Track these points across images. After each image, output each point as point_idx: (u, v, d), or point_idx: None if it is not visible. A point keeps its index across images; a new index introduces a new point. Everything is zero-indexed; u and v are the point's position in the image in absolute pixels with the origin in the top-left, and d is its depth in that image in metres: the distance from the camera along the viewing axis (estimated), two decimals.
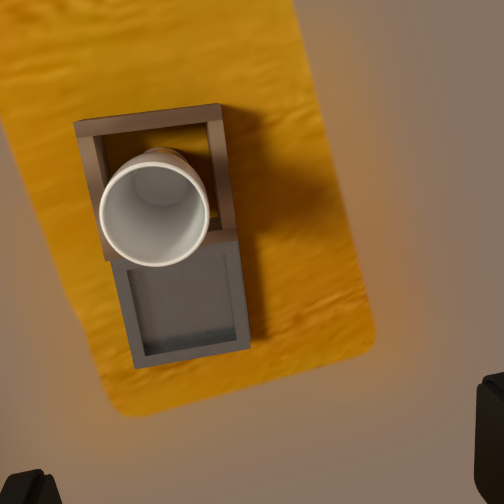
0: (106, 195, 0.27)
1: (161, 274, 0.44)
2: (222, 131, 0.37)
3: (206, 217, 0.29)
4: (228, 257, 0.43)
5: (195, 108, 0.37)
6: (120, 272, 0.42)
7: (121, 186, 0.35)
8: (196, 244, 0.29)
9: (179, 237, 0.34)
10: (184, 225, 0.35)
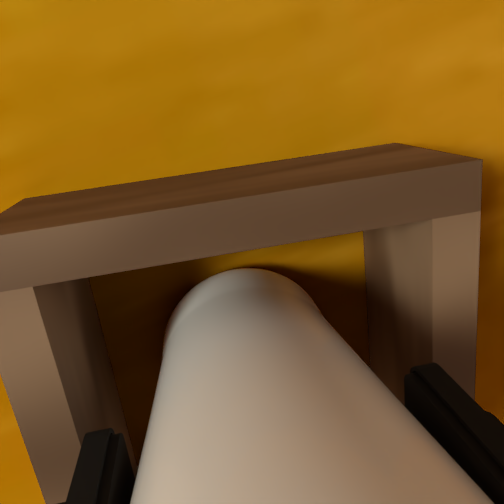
0: None
1: None
2: (473, 247, 0.11)
3: None
4: None
5: (397, 177, 0.10)
6: None
7: None
8: None
9: None
10: None
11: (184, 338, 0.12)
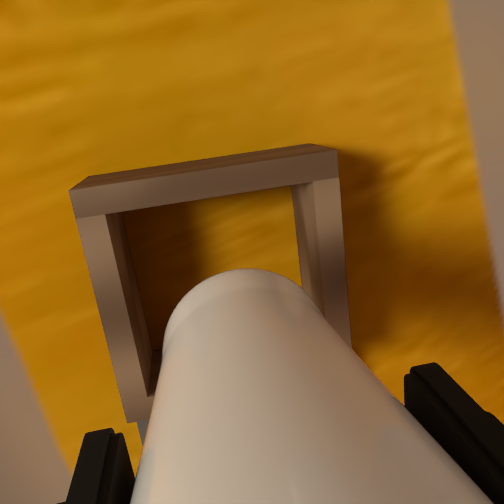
0: None
1: None
2: (337, 197, 0.21)
3: None
4: None
5: (292, 159, 0.20)
6: None
7: None
8: None
9: None
10: None
11: (184, 338, 0.12)
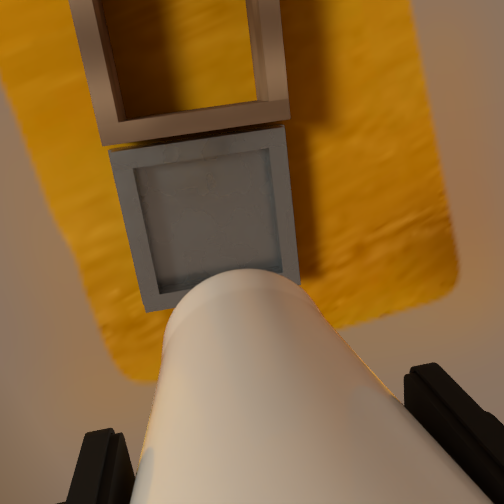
0: None
1: (180, 180, 0.32)
2: None
3: None
4: (273, 152, 0.31)
5: None
6: (124, 171, 0.30)
7: None
8: None
9: None
10: None
11: (184, 339, 0.12)
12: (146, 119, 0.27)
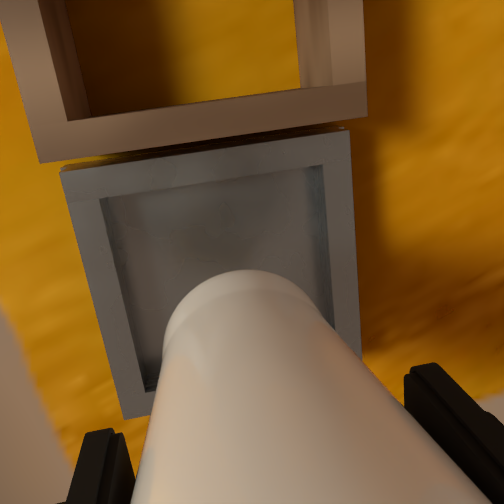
0: None
1: (178, 215, 0.20)
2: None
3: None
4: (329, 171, 0.19)
5: None
6: (85, 204, 0.18)
7: None
8: None
9: None
10: None
11: (184, 340, 0.12)
12: (118, 116, 0.15)
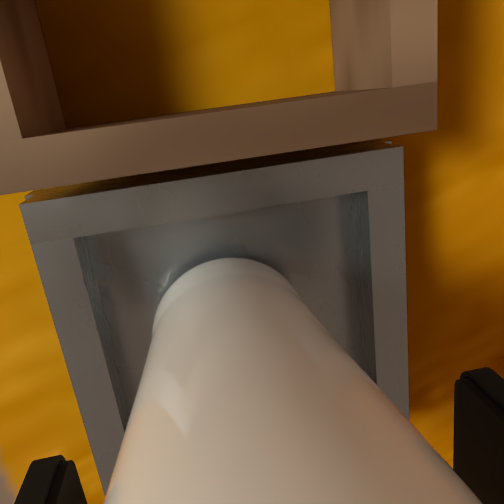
0: None
1: (179, 254, 0.16)
2: None
3: None
4: (376, 199, 0.15)
5: None
6: (55, 245, 0.14)
7: None
8: None
9: None
10: None
11: (169, 321, 0.13)
12: (94, 131, 0.11)
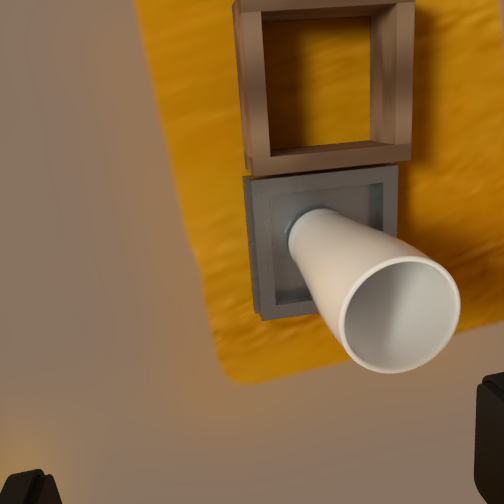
0: (352, 294, 0.23)
1: (301, 206, 0.37)
2: (412, 17, 0.31)
3: (456, 318, 0.24)
4: (386, 186, 0.36)
5: None
6: (261, 197, 0.35)
7: None
8: (440, 348, 0.25)
9: (383, 325, 0.29)
10: (379, 309, 0.31)
11: (309, 226, 0.34)
12: (293, 155, 0.32)
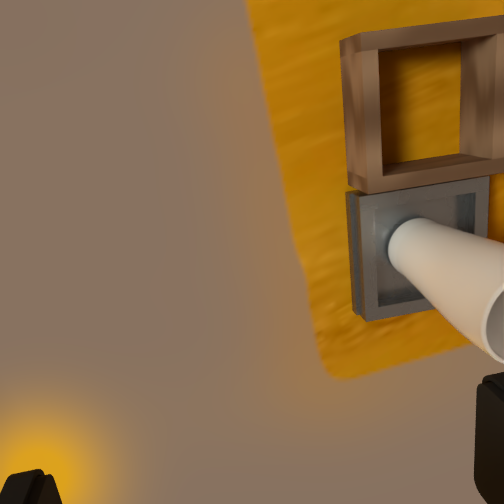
0: (494, 301, 0.27)
1: (399, 216, 0.41)
2: None
3: None
4: (478, 195, 0.39)
5: (487, 18, 0.33)
6: (367, 211, 0.38)
7: None
8: None
9: (498, 323, 0.33)
10: None
11: (415, 236, 0.37)
12: (402, 174, 0.36)
